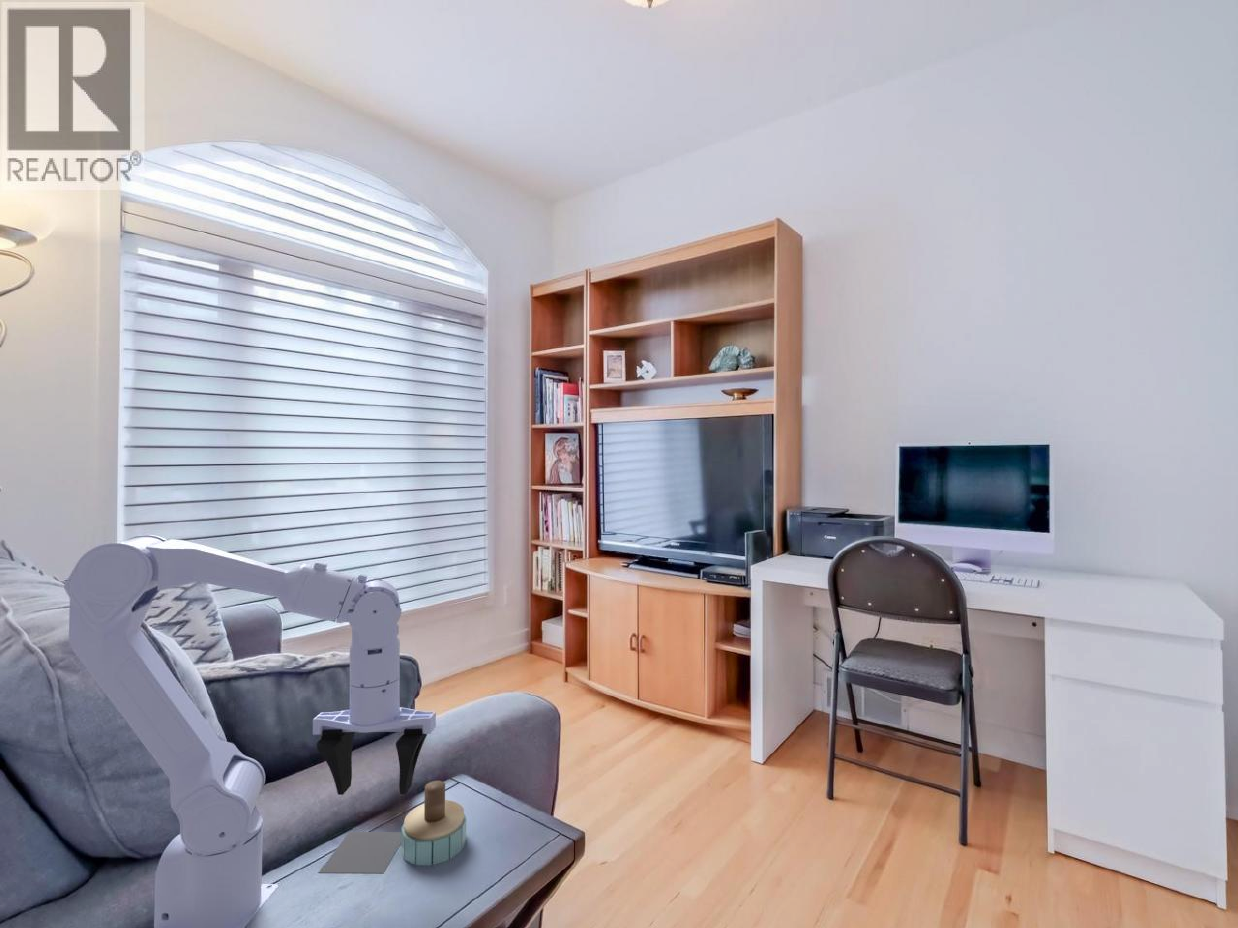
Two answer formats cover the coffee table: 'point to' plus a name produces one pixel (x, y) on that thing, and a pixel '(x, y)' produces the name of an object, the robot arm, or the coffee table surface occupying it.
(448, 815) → the lid
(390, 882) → the coffee table surface
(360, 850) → the mat
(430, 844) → the bowl
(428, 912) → the coffee table surface
